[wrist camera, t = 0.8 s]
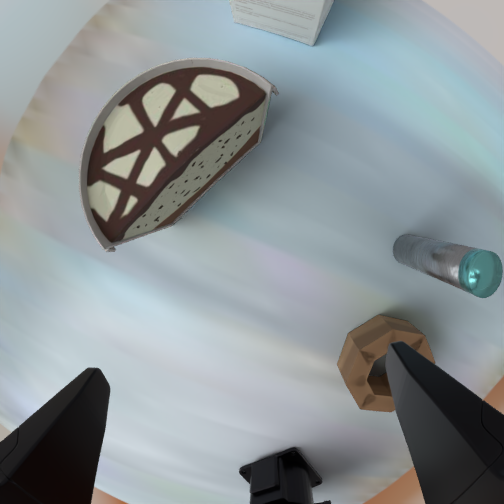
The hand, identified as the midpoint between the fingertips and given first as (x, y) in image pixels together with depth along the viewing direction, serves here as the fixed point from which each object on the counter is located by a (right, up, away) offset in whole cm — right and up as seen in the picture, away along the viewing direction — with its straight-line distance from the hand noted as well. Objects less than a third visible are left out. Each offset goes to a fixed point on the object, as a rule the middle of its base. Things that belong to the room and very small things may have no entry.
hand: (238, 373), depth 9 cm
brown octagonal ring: (+11, -5, +16) cm, 20 cm away
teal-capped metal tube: (+13, +4, +15) cm, 20 cm away
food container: (-4, +11, +15) cm, 19 cm away
